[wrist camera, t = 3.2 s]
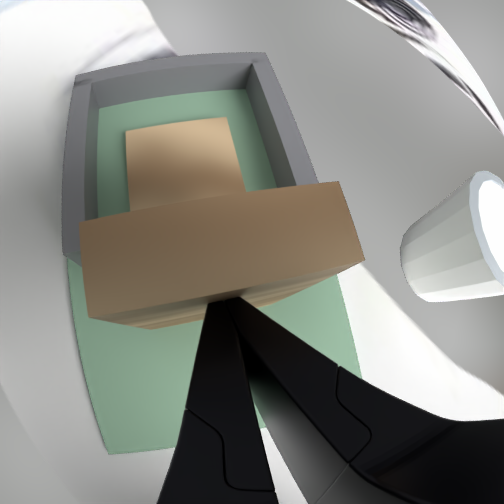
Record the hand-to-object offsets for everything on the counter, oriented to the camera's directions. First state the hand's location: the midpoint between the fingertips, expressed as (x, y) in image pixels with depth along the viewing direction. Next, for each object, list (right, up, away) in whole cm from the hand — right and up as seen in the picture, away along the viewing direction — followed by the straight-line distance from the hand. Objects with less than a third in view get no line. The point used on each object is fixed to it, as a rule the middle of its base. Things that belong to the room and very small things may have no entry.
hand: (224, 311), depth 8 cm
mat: (-2, +3, +8) cm, 9 cm away
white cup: (+13, +1, +11) cm, 17 cm away
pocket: (-3, +7, +9) cm, 12 cm away
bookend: (-3, +4, +8) cm, 9 cm away
